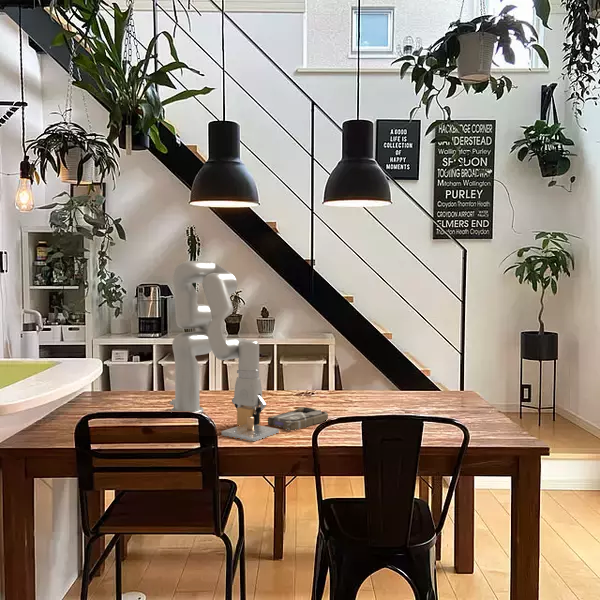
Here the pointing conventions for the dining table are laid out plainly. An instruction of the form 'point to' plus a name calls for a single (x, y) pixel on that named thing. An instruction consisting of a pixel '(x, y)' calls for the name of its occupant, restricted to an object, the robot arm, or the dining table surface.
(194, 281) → the robot arm
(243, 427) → the plate
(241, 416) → the wooden toy block
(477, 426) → the dining table surface
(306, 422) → the grey flat case
